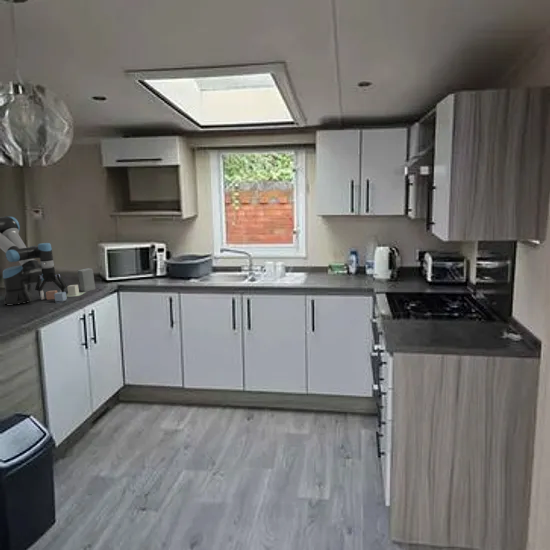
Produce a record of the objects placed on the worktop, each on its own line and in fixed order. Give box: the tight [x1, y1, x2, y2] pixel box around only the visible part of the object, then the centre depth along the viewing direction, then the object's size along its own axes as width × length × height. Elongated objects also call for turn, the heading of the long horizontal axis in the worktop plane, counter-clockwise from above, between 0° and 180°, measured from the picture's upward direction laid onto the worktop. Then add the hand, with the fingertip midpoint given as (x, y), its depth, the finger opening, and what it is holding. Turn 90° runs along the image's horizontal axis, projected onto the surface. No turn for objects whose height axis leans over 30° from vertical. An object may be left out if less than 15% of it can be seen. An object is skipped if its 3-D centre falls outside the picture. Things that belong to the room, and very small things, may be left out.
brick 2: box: [54, 291, 67, 304], centre depth 305 cm, size 5×5×6 cm
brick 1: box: [45, 289, 58, 301], centre depth 312 cm, size 5×5×6 cm
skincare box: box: [76, 267, 96, 292], centre depth 332 cm, size 8×7×16 cm
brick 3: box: [66, 284, 80, 296], centre depth 320 cm, size 5×5×6 cm
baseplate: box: [66, 291, 87, 298], centre depth 321 cm, size 12×12×1 cm
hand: (52, 300), depth 312 cm, fingers open, 12 cm apart
